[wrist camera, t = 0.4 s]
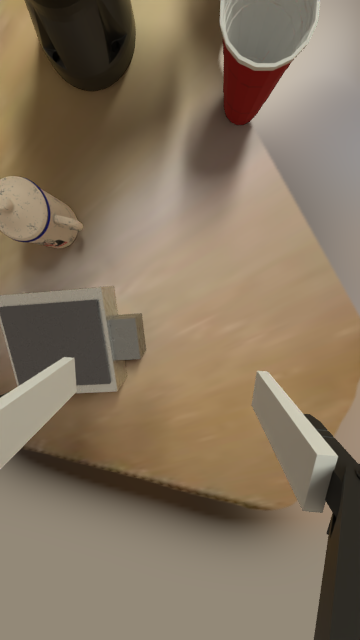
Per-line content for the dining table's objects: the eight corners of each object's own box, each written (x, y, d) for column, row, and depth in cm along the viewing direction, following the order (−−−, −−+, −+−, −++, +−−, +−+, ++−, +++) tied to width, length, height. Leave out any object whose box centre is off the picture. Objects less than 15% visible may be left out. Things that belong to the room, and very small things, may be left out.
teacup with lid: (33, 245, 39) (-31, 231, 27) (35, 195, 37) (-34, 157, 26) (92, 256, 39) (52, 247, 27) (97, 207, 37) (56, 175, 25)
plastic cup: (284, 71, 31) (340, -54, 20) (263, 147, 34) (303, 77, 22) (218, 56, 31) (235, -77, 20) (201, 134, 34) (208, 56, 22)
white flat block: (21, 293, 41) (-11, 296, 35) (138, 284, 39) (128, 285, 33) (42, 380, 45) (17, 397, 39) (149, 375, 43) (142, 391, 37)
